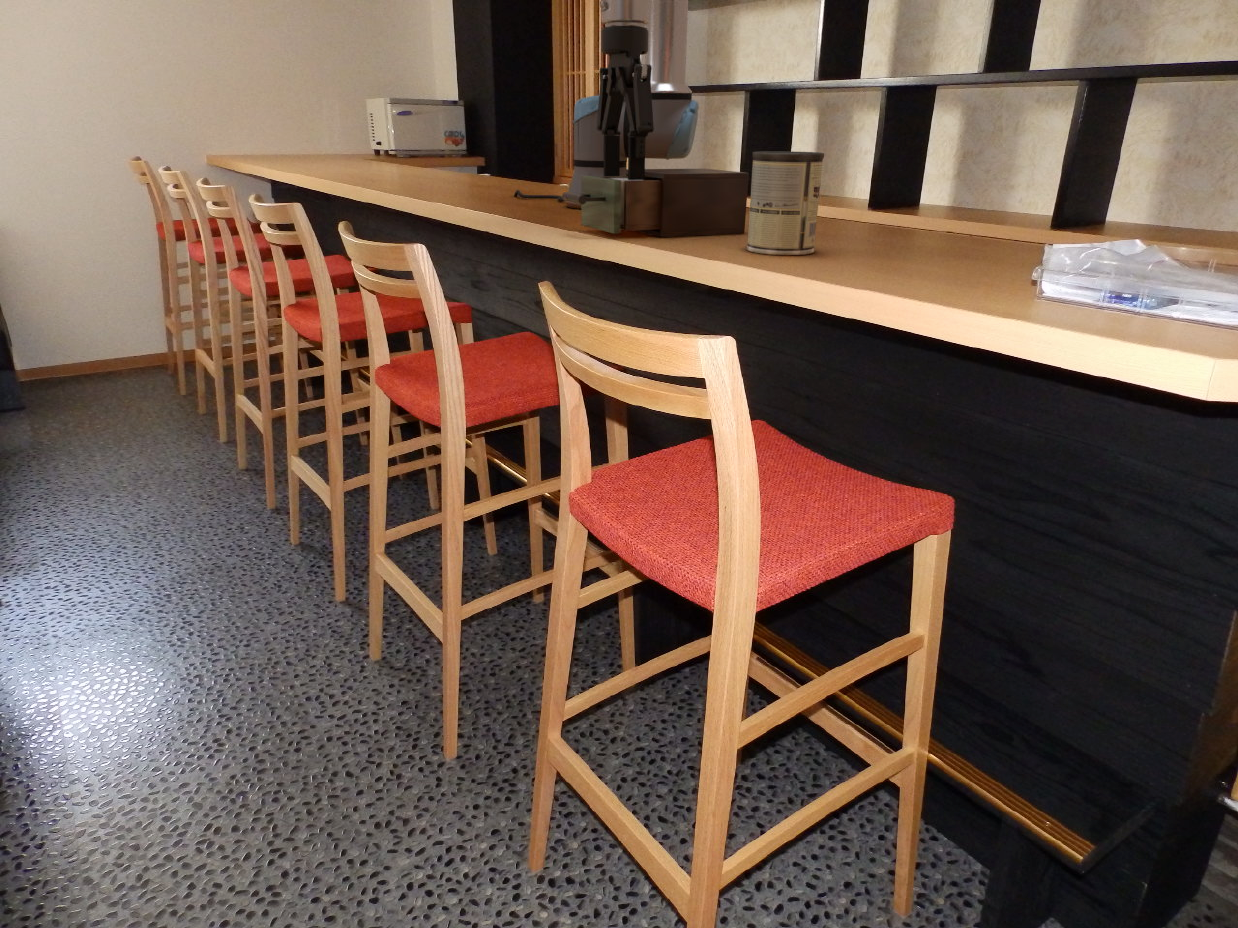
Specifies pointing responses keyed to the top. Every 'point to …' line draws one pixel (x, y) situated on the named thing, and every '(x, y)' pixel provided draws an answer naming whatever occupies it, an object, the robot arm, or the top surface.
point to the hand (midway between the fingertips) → (623, 177)
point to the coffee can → (784, 202)
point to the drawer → (618, 203)
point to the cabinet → (700, 202)
